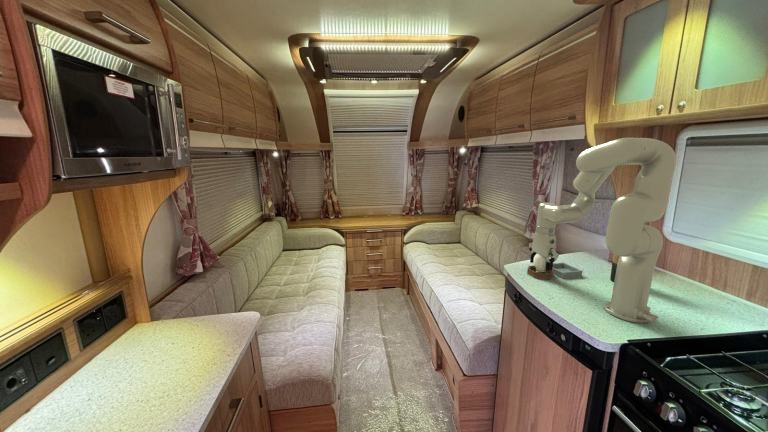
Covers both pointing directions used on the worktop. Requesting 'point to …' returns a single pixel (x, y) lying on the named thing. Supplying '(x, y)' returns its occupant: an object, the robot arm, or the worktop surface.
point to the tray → (565, 270)
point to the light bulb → (540, 263)
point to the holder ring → (540, 275)
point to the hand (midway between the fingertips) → (540, 266)
